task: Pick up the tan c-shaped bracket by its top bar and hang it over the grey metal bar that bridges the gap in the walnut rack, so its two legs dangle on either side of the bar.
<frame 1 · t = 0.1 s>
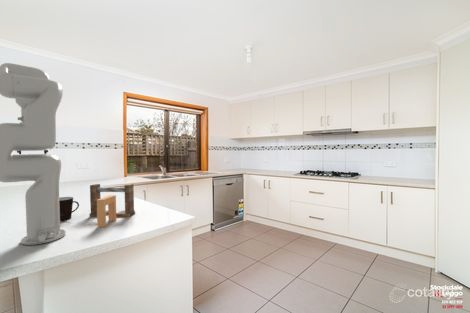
hand: (33, 154, 113), 31 cm above the counter, tool pointing down, fingers open, 9 cm apart
tan c-shaped bracket: (107, 223, 99), on the counter
rack: (112, 215, 112), on the counter
coffee mug: (64, 220, 105), on the counter
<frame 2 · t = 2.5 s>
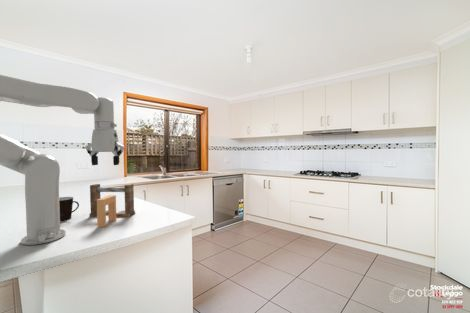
hand: (105, 165, 98), 26 cm above the counter, tool pointing down, fingers open, 9 cm apart
nothing on the counter moved.
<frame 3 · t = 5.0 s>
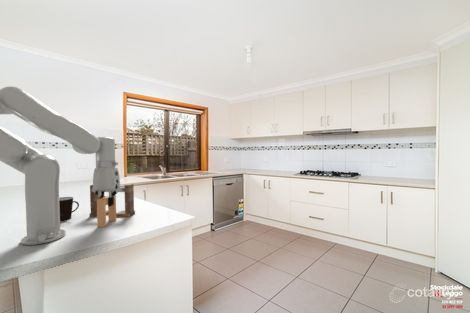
hand: (106, 205, 99), 8 cm above the counter, tool pointing down, fingers closed on tan c-shaped bracket, 3 cm apart
tan c-shaped bracket: (107, 223, 99), on the counter, touching gripper
everything else where it was.
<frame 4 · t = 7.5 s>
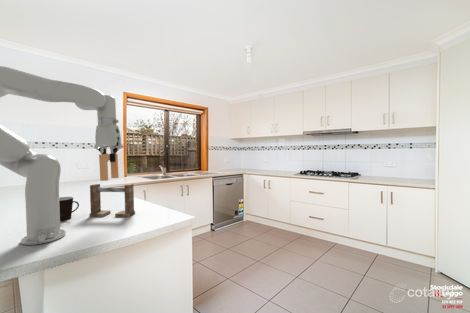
hand: (109, 161, 103), 28 cm above the counter, tool pointing down, fingers closed on tan c-shaped bracket, 3 cm apart
tan c-shaped bracket: (109, 179, 104), point 19 cm above the counter, touching gripper
everything else where it was.
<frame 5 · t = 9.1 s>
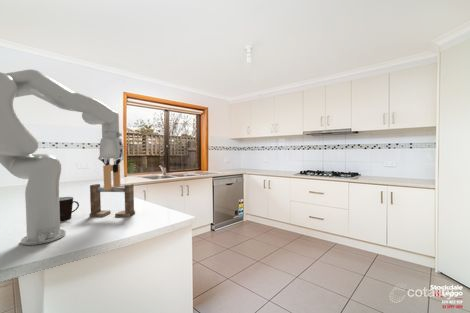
hand: (112, 172, 111), 22 cm above the counter, tool pointing down, fingers closed on tan c-shaped bracket, 3 cm apart
tan c-shaped bracket: (112, 188, 112), point 14 cm above the counter, touching gripper
everything else where it was.
when the fingers open (16 cm above the counter, at t = 10.4 s): tan c-shaped bracket drops 3 cm, resting on rack.
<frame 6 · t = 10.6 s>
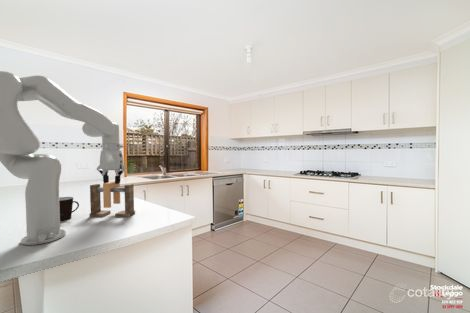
hand: (111, 183, 111), 16 cm above the counter, tool pointing down, fingers open, 5 cm apart
tan c-shaped bracket: (112, 205, 112), point 5 cm above the counter, touching rack
everything else where it was.
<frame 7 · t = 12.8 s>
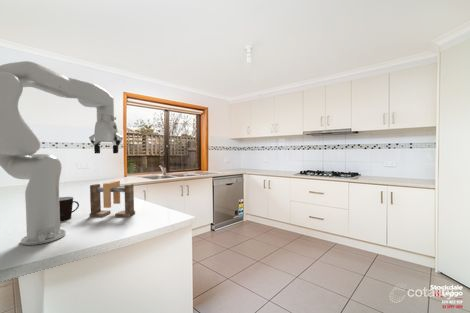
hand: (106, 153, 112), 31 cm above the counter, tool pointing down, fingers open, 9 cm apart
nothing on the counter moved.
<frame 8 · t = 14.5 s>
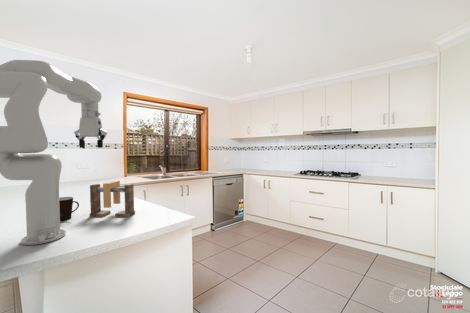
hand: (91, 147, 117), 34 cm above the counter, tool pointing down, fingers open, 9 cm apart
nothing on the counter moved.
at the end: tan c-shaped bracket inside the target area on the rack (0.1 cm from its centre), point 5.0 cm above the rack's base; tan c-shaped bracket touching rack; the gripper is holding nothing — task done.
